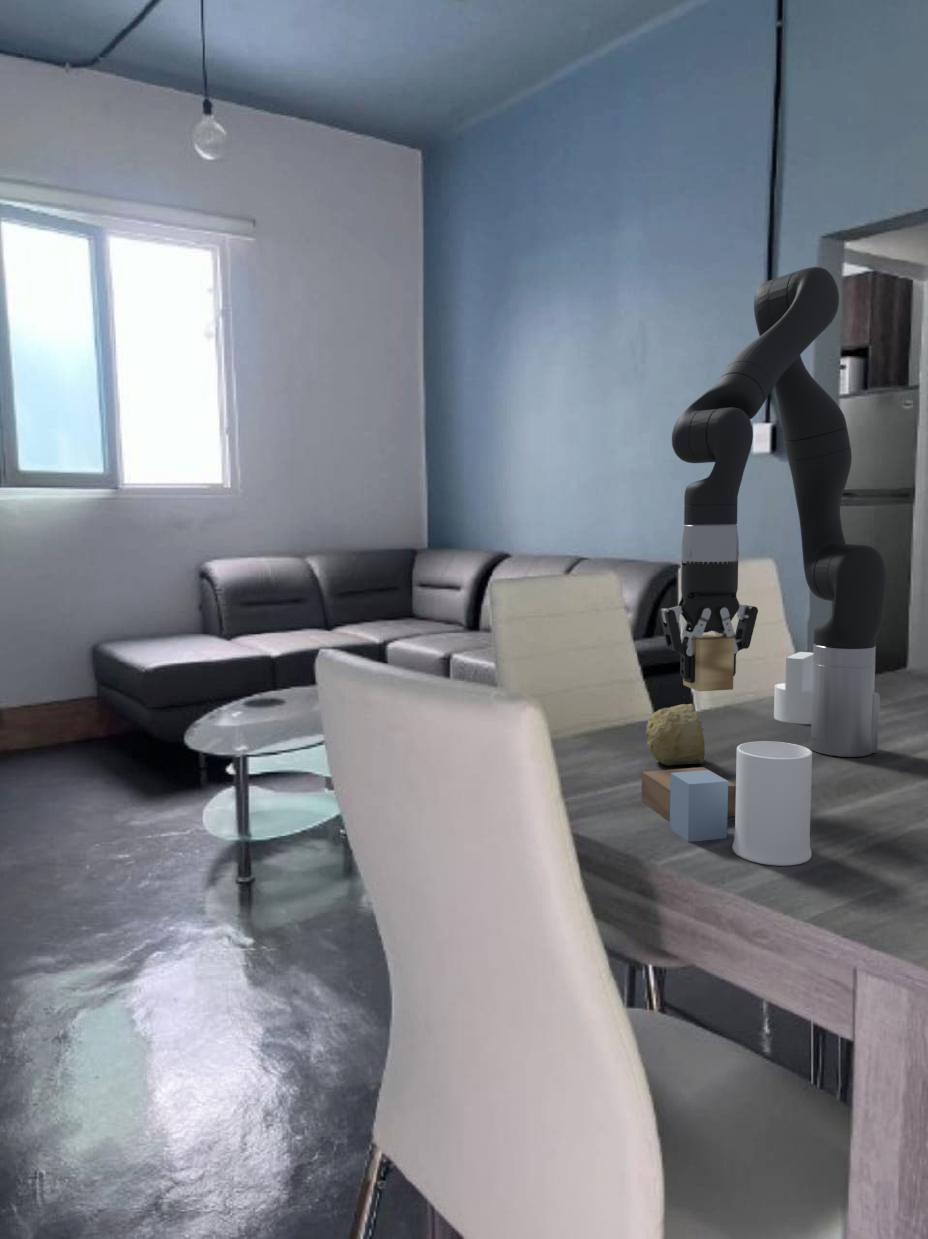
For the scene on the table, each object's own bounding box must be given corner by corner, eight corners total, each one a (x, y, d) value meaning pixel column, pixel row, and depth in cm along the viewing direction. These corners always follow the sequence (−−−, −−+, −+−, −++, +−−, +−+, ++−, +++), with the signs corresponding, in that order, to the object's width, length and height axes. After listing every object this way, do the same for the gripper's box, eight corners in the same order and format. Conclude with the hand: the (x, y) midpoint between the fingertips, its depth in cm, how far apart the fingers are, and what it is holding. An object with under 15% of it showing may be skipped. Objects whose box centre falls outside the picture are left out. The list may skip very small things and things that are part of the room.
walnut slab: (703, 795, 127) (703, 767, 127) (735, 816, 118) (736, 785, 118) (641, 800, 125) (641, 771, 125) (670, 821, 116) (670, 790, 116)
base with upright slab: (782, 711, 180) (784, 650, 179) (830, 717, 175) (832, 654, 173) (767, 720, 173) (769, 656, 171) (817, 726, 168) (819, 660, 166)
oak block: (715, 683, 132) (716, 634, 131) (733, 689, 127) (734, 638, 126) (683, 684, 131) (683, 635, 130) (699, 691, 126) (700, 640, 125)
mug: (732, 827, 114) (734, 732, 113) (806, 833, 112) (809, 736, 110) (732, 862, 103) (734, 756, 101) (814, 869, 100) (817, 761, 99)
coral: (730, 726, 138) (669, 700, 137) (700, 786, 140) (640, 760, 139) (714, 708, 147) (657, 684, 147) (686, 764, 149) (630, 740, 148)
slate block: (707, 824, 115) (708, 769, 114) (726, 838, 110) (728, 781, 110) (669, 828, 114) (670, 772, 113) (688, 842, 109) (688, 784, 109)
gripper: (743, 556, 132) (741, 674, 134) (649, 558, 129) (648, 678, 131) (772, 558, 125) (769, 683, 126) (672, 560, 122) (671, 688, 123)
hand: (707, 680), depth 129 cm, fingers closed on oak block, 5 cm apart
